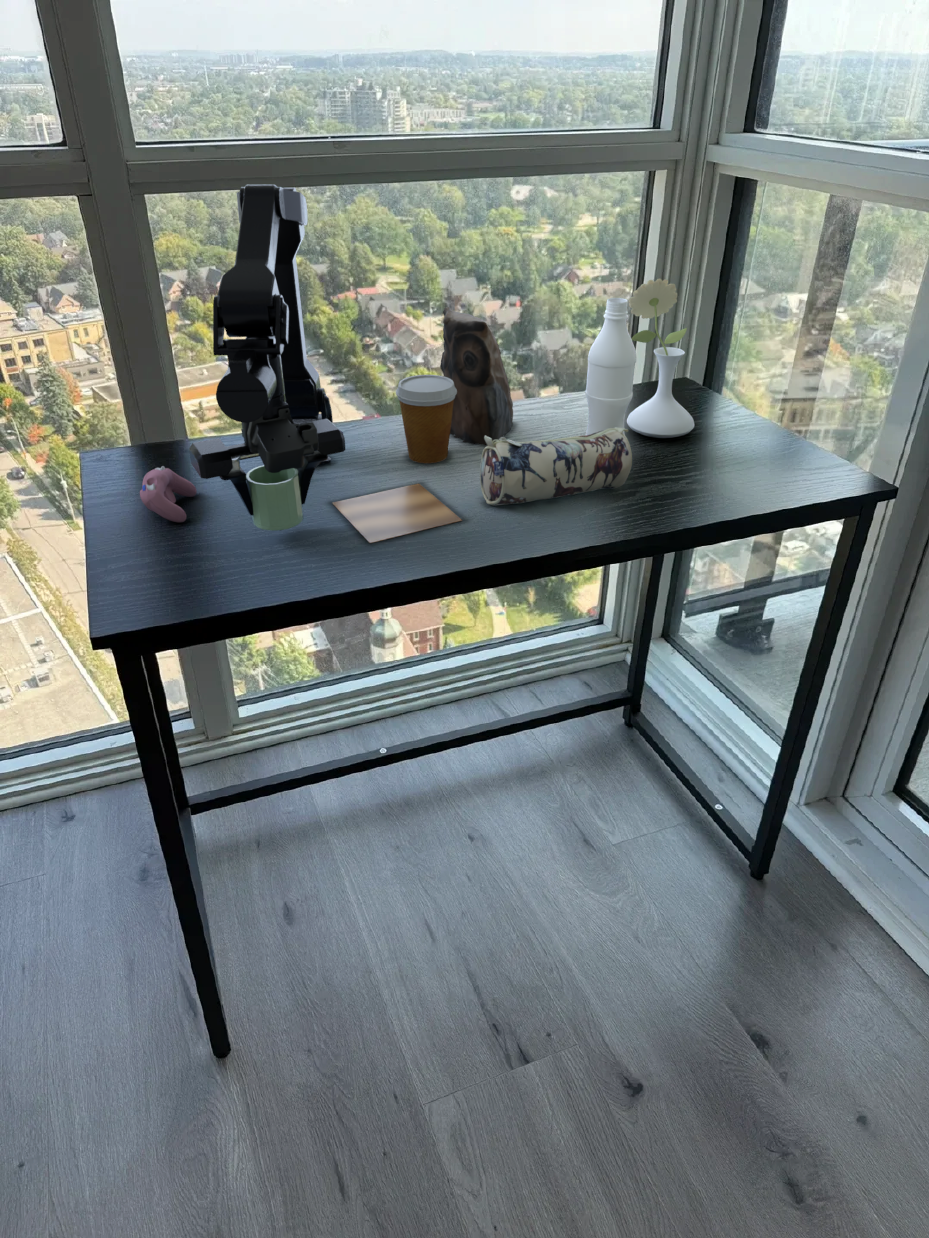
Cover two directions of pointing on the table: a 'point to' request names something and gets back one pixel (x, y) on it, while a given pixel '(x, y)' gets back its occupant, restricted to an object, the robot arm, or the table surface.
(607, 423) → the water bottle
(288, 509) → the glazed cup
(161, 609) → the table surface
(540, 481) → the pencil case
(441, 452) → the disposable coffee cup
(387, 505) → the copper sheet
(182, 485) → the video game controller
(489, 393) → the owl
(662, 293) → the flower in vase
